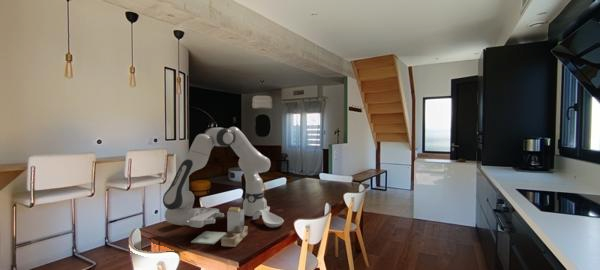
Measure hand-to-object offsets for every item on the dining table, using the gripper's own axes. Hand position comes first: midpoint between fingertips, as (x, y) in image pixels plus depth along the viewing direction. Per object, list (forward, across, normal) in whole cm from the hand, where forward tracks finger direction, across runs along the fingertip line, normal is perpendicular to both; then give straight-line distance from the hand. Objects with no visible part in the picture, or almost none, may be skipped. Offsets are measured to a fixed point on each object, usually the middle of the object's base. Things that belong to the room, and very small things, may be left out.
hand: (219, 218), depth 143 cm
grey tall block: (+9, 0, +5) cm, 11 cm away
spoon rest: (+18, +25, +11) cm, 32 cm away
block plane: (+9, -1, +10) cm, 14 cm away
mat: (-5, -2, +10) cm, 11 cm away
